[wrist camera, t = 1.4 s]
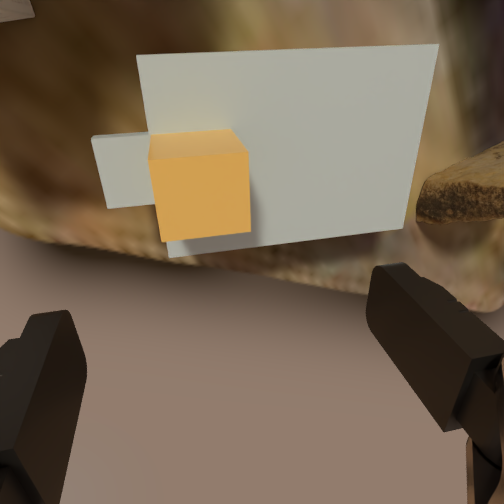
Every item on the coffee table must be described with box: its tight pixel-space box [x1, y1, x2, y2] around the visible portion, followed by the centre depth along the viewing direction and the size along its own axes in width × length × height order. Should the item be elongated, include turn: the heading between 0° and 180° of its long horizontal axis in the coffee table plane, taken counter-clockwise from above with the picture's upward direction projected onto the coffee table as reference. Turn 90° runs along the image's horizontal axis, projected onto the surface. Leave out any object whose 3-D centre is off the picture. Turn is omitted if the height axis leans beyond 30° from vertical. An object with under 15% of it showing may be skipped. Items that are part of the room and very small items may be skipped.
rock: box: [416, 141, 504, 225], centre depth 31 cm, size 11×9×10 cm
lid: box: [91, 44, 439, 258], centre depth 21 cm, size 20×12×7 cm, turn 91°
